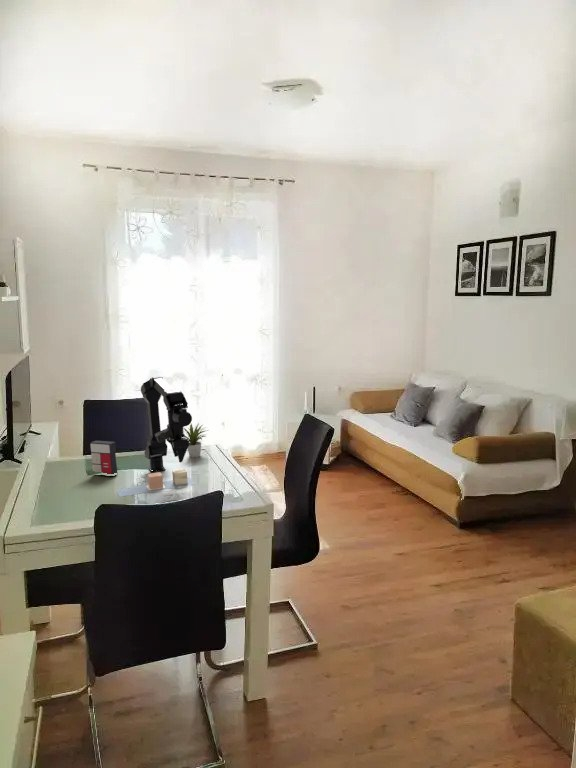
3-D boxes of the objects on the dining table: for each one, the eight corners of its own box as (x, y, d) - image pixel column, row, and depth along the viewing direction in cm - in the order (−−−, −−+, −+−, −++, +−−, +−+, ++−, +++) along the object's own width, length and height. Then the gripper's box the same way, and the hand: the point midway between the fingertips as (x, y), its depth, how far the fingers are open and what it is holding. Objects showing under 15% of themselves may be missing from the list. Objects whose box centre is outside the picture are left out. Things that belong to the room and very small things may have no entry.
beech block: (173, 482, 241) (172, 470, 241) (185, 480, 243) (184, 468, 243) (175, 485, 237) (174, 473, 236) (187, 483, 239) (186, 471, 238)
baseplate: (116, 491, 236) (116, 489, 235) (189, 479, 247) (189, 477, 247) (119, 498, 226) (119, 496, 226) (195, 486, 237) (195, 484, 237)
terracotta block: (148, 485, 238) (147, 474, 237) (160, 483, 240) (159, 472, 239) (150, 489, 233) (149, 477, 232) (163, 487, 235) (162, 475, 234)
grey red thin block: (92, 475, 258) (88, 442, 255) (98, 472, 262) (95, 440, 259) (112, 477, 254) (109, 444, 251) (118, 474, 258) (115, 441, 255)
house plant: (200, 461, 272) (197, 427, 269) (174, 460, 276) (171, 426, 274) (214, 453, 285) (212, 420, 282) (189, 452, 290) (187, 419, 287)
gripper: (151, 420, 242) (154, 456, 244) (159, 429, 225) (162, 468, 227) (178, 416, 246) (181, 452, 248) (188, 425, 229) (191, 464, 231)
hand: (178, 459), depth 239 cm, fingers open, 9 cm apart
